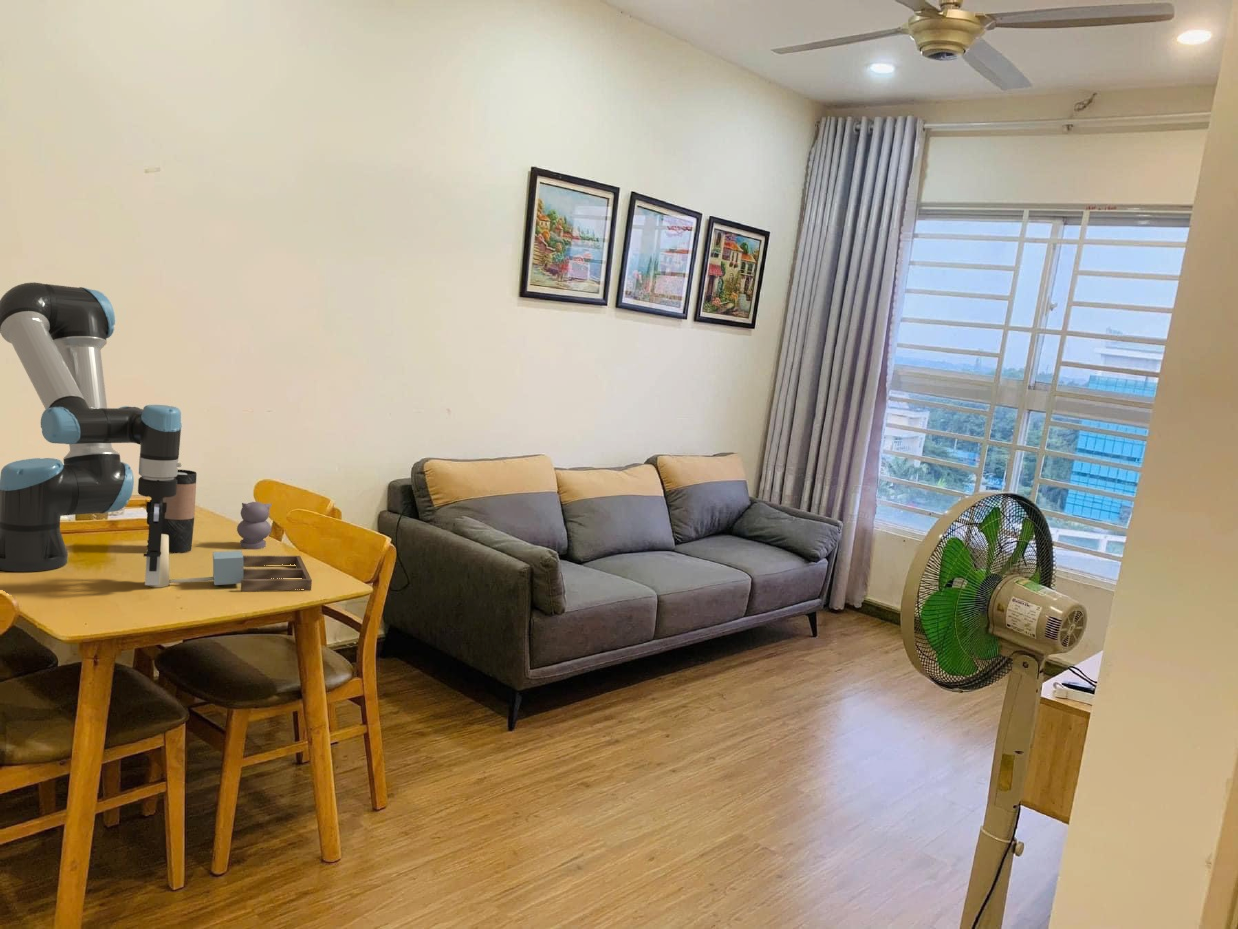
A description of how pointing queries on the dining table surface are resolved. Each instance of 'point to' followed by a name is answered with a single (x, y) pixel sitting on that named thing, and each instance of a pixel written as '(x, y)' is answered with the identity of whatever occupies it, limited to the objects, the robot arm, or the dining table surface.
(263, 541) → the cat figurine
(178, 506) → the travel mug
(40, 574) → the dining table surface
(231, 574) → the tethered block
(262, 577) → the lane rack
